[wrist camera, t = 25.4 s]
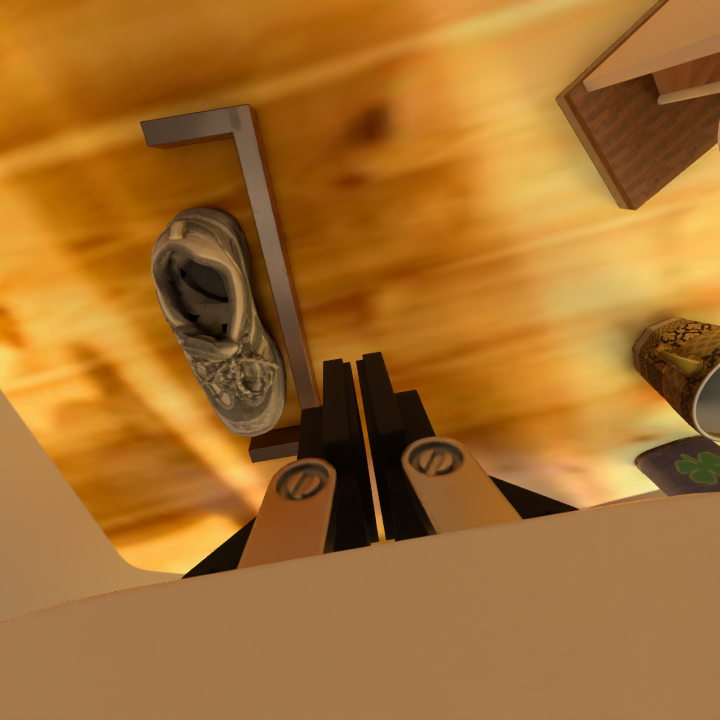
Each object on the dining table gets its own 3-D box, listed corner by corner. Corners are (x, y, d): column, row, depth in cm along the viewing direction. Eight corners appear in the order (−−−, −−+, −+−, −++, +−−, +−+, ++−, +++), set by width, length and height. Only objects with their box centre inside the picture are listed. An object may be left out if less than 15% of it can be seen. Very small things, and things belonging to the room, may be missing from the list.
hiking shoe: (199, 440, 41) (233, 494, 31) (122, 224, 34) (135, 205, 24) (283, 405, 45) (336, 443, 35) (229, 207, 39) (277, 186, 29)
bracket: (155, 126, 32) (139, 121, 29) (255, 109, 32) (248, 103, 29) (256, 445, 44) (252, 463, 42) (327, 433, 45) (327, 450, 42)
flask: (634, 470, 50) (708, 541, 41) (634, 452, 49) (710, 520, 39) (708, 449, 50) (802, 516, 40) (710, 430, 49) (807, 494, 39)
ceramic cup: (729, 321, 43) (838, 361, 34) (667, 399, 46) (751, 455, 37) (633, 276, 40) (723, 307, 31) (575, 364, 43) (641, 414, 34)
